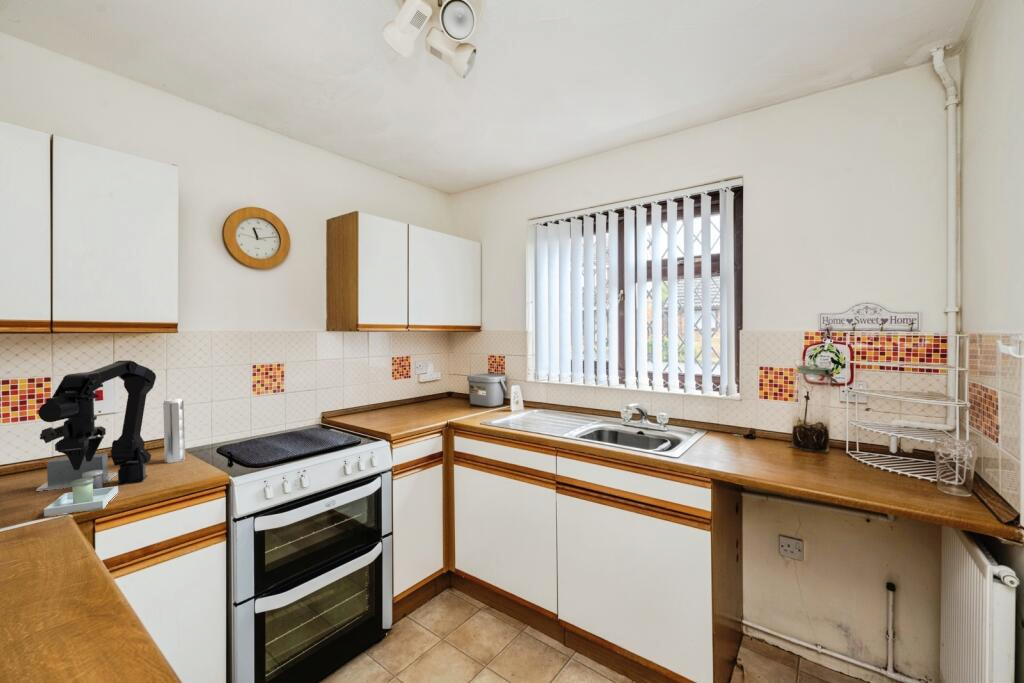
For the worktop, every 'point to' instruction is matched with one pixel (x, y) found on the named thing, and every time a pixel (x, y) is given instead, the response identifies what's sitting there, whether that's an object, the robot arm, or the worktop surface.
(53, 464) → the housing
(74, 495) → the cylinder
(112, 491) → the tray
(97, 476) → the grey cup
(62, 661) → the worktop surface
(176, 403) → the silver metal cylinder
